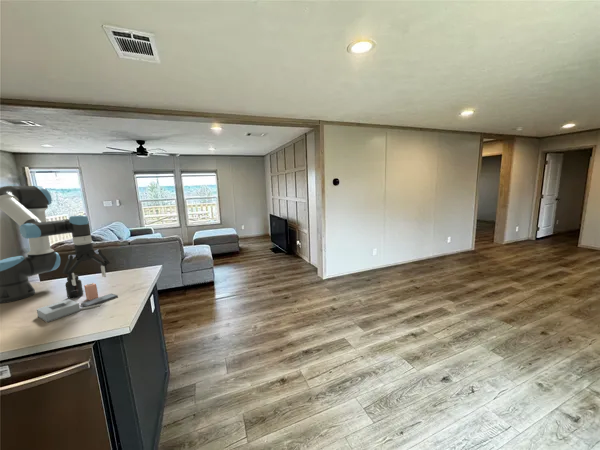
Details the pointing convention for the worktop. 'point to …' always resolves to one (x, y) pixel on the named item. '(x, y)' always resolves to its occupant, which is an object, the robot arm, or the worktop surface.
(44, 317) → the outlet plate
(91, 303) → the phone
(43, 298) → the worktop surface
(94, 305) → the cable
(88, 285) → the block
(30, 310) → the worktop surface
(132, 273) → the worktop surface
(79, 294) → the supplement bottle
